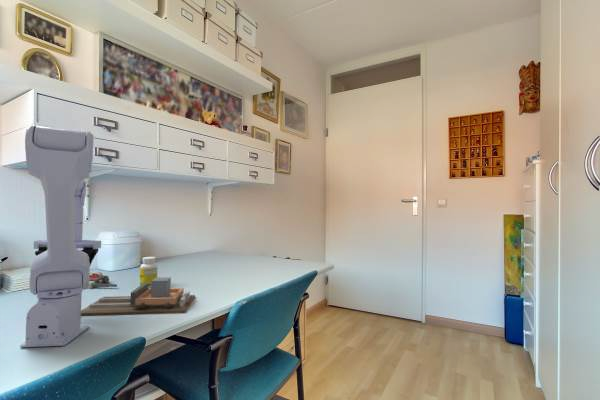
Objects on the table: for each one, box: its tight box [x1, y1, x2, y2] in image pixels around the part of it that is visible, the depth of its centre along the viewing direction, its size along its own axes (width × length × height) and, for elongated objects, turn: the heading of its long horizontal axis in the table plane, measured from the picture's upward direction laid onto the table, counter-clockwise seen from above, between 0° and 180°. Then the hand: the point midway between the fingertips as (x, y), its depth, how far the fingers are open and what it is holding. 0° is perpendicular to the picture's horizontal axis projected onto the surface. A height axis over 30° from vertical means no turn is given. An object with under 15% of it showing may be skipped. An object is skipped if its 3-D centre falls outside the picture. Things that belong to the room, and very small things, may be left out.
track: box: [81, 290, 196, 317], centre depth 85 cm, size 14×26×3 cm, turn 99°
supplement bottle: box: [139, 256, 158, 289], centre depth 106 cm, size 5×5×10 cm
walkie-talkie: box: [85, 271, 118, 290], centre depth 105 cm, size 9×4×20 cm
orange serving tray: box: [130, 283, 185, 309], centre depth 86 cm, size 12×11×4 cm
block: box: [150, 276, 172, 298], centre depth 86 cm, size 4×4×5 cm
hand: (67, 277), depth 77 cm, fingers open, 7 cm apart
